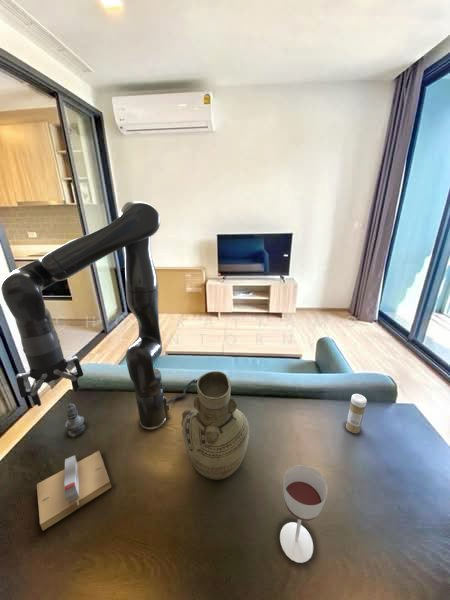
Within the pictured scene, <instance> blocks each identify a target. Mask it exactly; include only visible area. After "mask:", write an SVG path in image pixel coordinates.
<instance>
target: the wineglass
mask: <svg viewBox="0 0 450 600" xmlns="http://www.w3.org/2000/svg"><path fill="white" fill-rule="evenodd" d="M282 489H283V498H284V502H285V506H286V508H287V510H288V512H289V513H290V514H291V516H293V517H294V518H296V519H297V521H296V522H293V521H290V522H287V523H285V524H284V525H283V526H282V528H281V529H280V534H279V541H280V545H281V548H282V551H283V552H284V554H285V555H286V557H288V559H290V560H291V561H293V562H295V563H301V564H303V563H306V562H308V561H309V560H311V558H312V556H313V553H314V543H313V538H312V536H311V534H310V533H309V530H307V529H306V528H305V527H304V526H303V525H302V521H305V522H309V521H312V520H314V519H316V518H317V517H318V516H319V515H320V513H321V512H322V510H323V507H324V505H325V503H326V499H327V496H328V485H327V482H326V480H325V478H324V477H323V475H322V474H321V473H320V472H319V471H318V470H317V469H315V468H313V467H312V466H309V465H305V464H296V465H293V466H290V467H289V468H288V469H287V470H286V471H285V473H284V475H283V484H282Z"/></svg>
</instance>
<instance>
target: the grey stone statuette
mask: <svg viewBox="0 0 450 600" xmlns="http://www.w3.org/2000/svg"><path fill="white" fill-rule="evenodd" d="M65 412H66V413H65V414H66V415H65V417H66V419H67V421H66V422H65V424H64V428H65V429H66V430H67V434H68V436H69V437H76V436H79V435H81V434H82V433H83V432H84V431H85V429H86V425H85V424H84V422H85V417H84V416H83V415H79V411H78V410H77V408H76V405H75V404H74V403H69V402H68V404H67V405H66V406H65Z"/></svg>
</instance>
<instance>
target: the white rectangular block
mask: <svg viewBox="0 0 450 600" xmlns="http://www.w3.org/2000/svg"><path fill="white" fill-rule="evenodd" d="M77 462H78V460H77V457H76V455H72V456H69V457H67V458H65V459H64V469H65V479H64V493H65V495H66V498H67V501H68V502H70V501H72V500H74V499H76V498H78V497H79V481H78V463H77Z"/></svg>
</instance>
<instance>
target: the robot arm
mask: <svg viewBox="0 0 450 600" xmlns="http://www.w3.org/2000/svg"><path fill="white" fill-rule="evenodd" d="M160 216H161V215H160V214H159V212H158V210H157V209H156V208H155V207H154V206H153V205H151V204H150V203H148V202H145V201H138V200H130V201H127V202H126V203H124V205H122V206H121V208H120V210H119V214H118V217H117V218H116V219H114V220H113V221H112V222H110V223H109V224H107V225H105V226H103V227H101V228H100V229H97V230H94V231H93V232H90V233H88V234H84V235H82V236H80V237H77V238H74V239H72V240H69V241H68V242H66V243H64V244H62V245H61V246H59V247H57V248H55V249H52V250H51V251H50V252H48V253H46V254H45V255H43V256H42V257H40V258H38V259H36V260H33V261H31V262H29V263H26V264H25V265H22V266H20V267H18V268H16V269H14V270H12V272H10V273H9V274H8V275H7V276H6V277H5V278H4V280H2V283H1V287H0V288H1V290H0V291H1V294H2V297H3V300H4V303H5V305H6V306H7V308H8V310H9V312H10V313H11V315H12V316H13V318H14V320H15V325H16V328H17V330H18V334H19V336H20V341H21V346H22V351H23V353H24V355H25V359H26V361H27V365H28V367H29V371H27V372H24V373H22V372H17V373H16V377H15V379H16V384H17V387H18V391H19V396H20V398H26V397H31V401H32V403H33V405H34V406H37V407H40V406H42V401H41V398H40V394H39V390H41V387H42V386H43V385H44V384H49V383H51V382H52V381H56V380H59V379H60V378H63V379H66V380H70V382H71V385H72V389H73V392H74V393H76V392H78V389H79V388H80V386H79V381H78V380H79V378H81V377H83V376H84V371H83V368H82V366H81V363H80V360H79V358H78V356H77V355H76V354H74V355H72V357H71V358H68V359H65V357H64V352H63V349H62V346H61V341H60V339H59V335H58V333H57V330H56V328H55V325H54V322H53V318H52V315H51V312H50V310H49V309H48V308H47V307H46V304H45V300H44V296H43V290H45V289H46V288H48V287H50V286H52V285H53V284H55V283H57V282H61V281H66V280H67V279H69V278H71V277H73V276H74V275H76V274H78V273H79V272H81V271H83V270H85V269H86V268H89V266H91V265H93V264H94V263H96V262H98V261H100V260H102V259H104V258H105V257H107V256H109V255H111V254H112V253H114V252H117V251H118V250H121V249H124V268H125V269H124V273H125V274H124V275H125V279H124V280H125V295H126V304H127V307H128V309H129V310H130V312H131V314H132V315H133V316H134V317H135V319H136V321H137V325H138V338H137V340H136V341H135V342H134V343H132V344H131V345H130V346H129V347H128V348H127V349H126V352H125V362H126V367H127V370H128V375H129V378H130V380H131V382H132V384H133V388H134V395H135V399H136V406H137V410H138V412H137V413H138V417H139V424H140V427H141V428H142V429H143V430H146V431H154V430H157V429H159V428H161V427H162V426H163V425H164V424H165V423H166V421H167V420H169V412H168V411H170V405H169V404H170V403H173V402H174V401H176V400H181V399H184V398H185V397H186V394H187V393H186V391H187V390H188V388H189V387H190V386H191V385H192V384H193V383H197V380H198V379H192V380H191V381H190V382H188V383H187V384H186V386H185V387H184V389H183V393H182V395H180V396H176V397H173V398H170V399H169V400H167V397H166V396H165V395H164V394H165V393H164V387H163V378H162V373H161V371H160V370H159V369H158V368H156V367H154V364H155V362H156V361H157V360H158V359H159V358H160V356H161V354H162V352H163V342H162V336H161V328H160V313H159V312H160V311H159V283H158V282H159V281H158V275H157V272H156V268H155V264H154V261H153V256H152V251H151V249H152V248H151V238H152V237H153V236H154V235H155V234H156V233H157V232H158V230H159V228H160V227H161V217H160ZM68 365H70V366H72V367H75V370H76V371H75V372H73V371H71V370H70V369H68V368H67V367H68ZM29 378H31V379H33V382H32V384H31V386H30V388H27V387H26V383H27V382H28V379H29ZM195 380H196V381H195Z"/></svg>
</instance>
